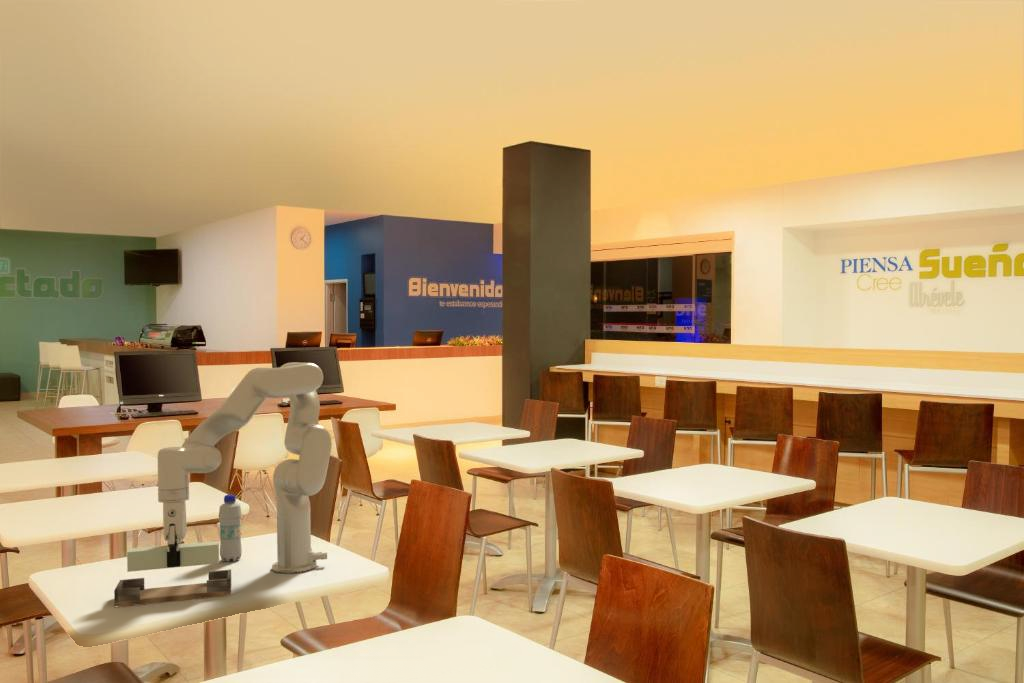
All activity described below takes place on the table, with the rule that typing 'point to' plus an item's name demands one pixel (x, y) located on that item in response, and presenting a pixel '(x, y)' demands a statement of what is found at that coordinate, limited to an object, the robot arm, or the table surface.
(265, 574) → the table surface
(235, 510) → the bottle
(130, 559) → the slat
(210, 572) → the cradle
